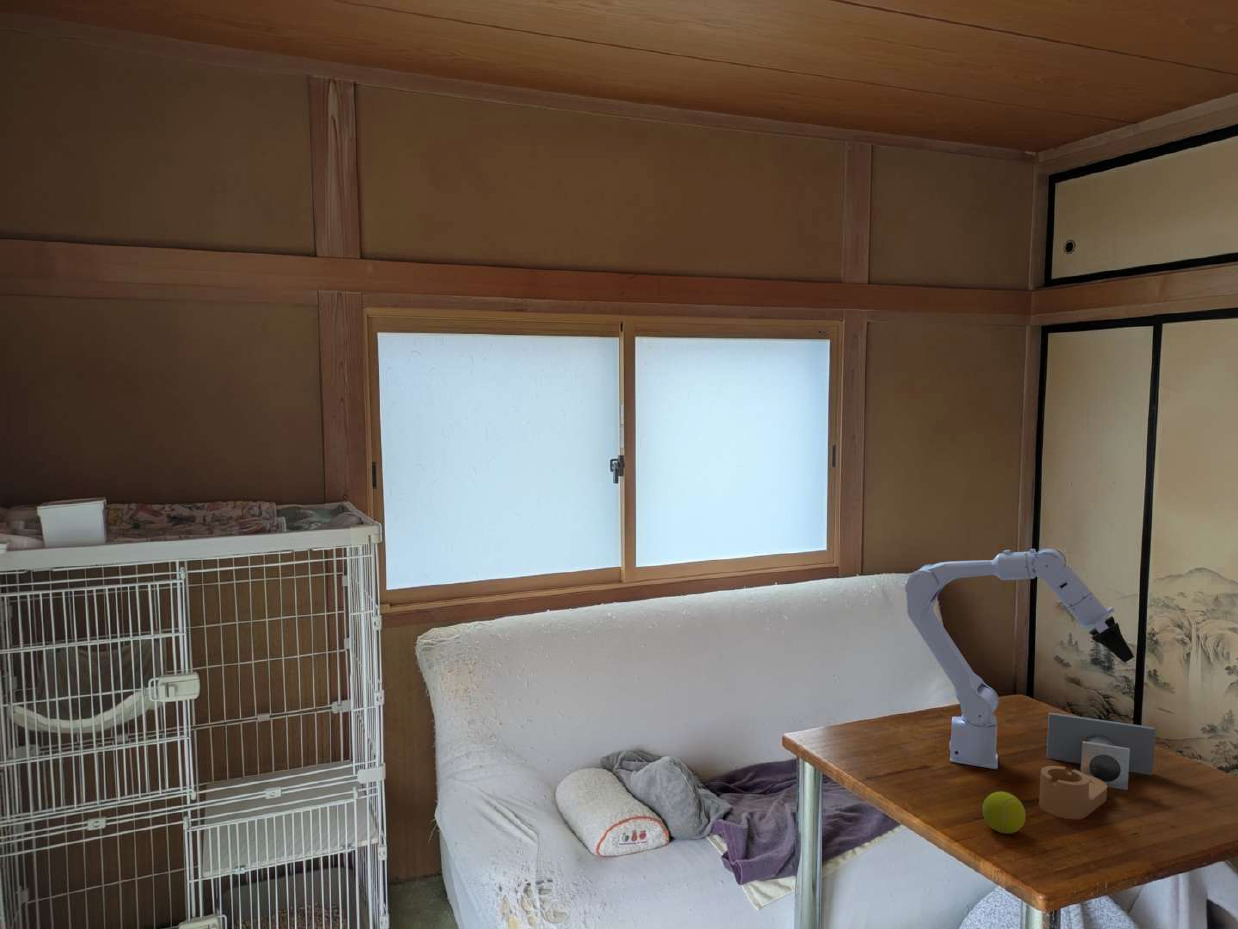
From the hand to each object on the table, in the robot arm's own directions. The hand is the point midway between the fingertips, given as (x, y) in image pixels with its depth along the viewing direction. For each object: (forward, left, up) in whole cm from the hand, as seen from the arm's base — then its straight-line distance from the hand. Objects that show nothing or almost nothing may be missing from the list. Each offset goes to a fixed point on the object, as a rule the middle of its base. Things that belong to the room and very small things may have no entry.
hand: (1127, 656), depth 169 cm
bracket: (-9, -9, -28) cm, 31 cm away
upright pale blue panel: (-3, +7, -28) cm, 29 cm away
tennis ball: (-22, -28, -28) cm, 45 cm away
